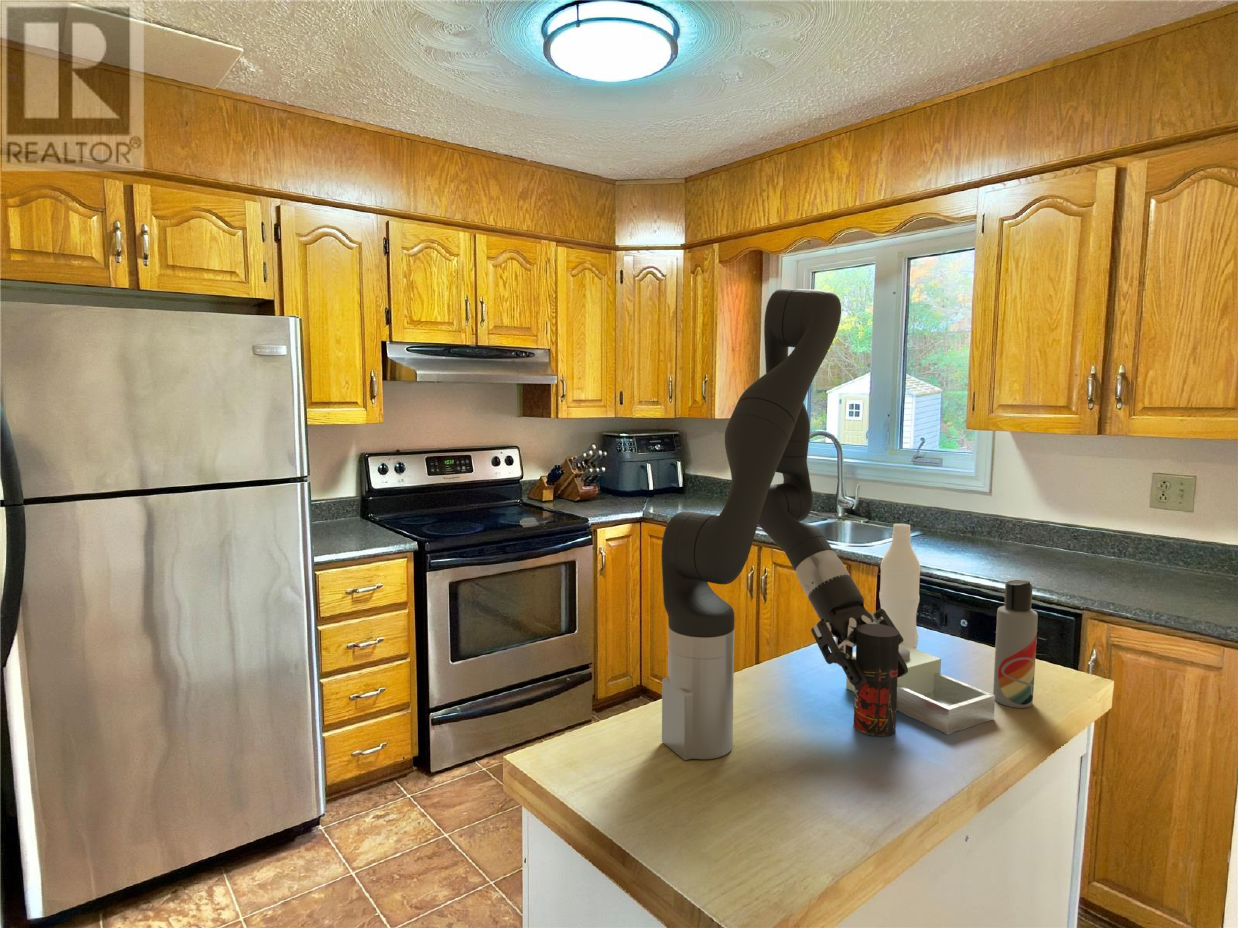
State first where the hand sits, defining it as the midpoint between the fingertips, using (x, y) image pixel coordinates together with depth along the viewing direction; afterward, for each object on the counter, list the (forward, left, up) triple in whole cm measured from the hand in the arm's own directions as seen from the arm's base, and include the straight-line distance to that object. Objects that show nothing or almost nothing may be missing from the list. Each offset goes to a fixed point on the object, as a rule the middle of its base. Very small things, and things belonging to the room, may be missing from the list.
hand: (883, 680), depth 105 cm
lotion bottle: (+27, -3, -8) cm, 28 cm away
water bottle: (+28, +21, -8) cm, 36 cm away
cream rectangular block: (+13, +9, -8) cm, 18 cm away
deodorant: (0, +1, -8) cm, 8 cm away
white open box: (+13, 0, -8) cm, 15 cm away
